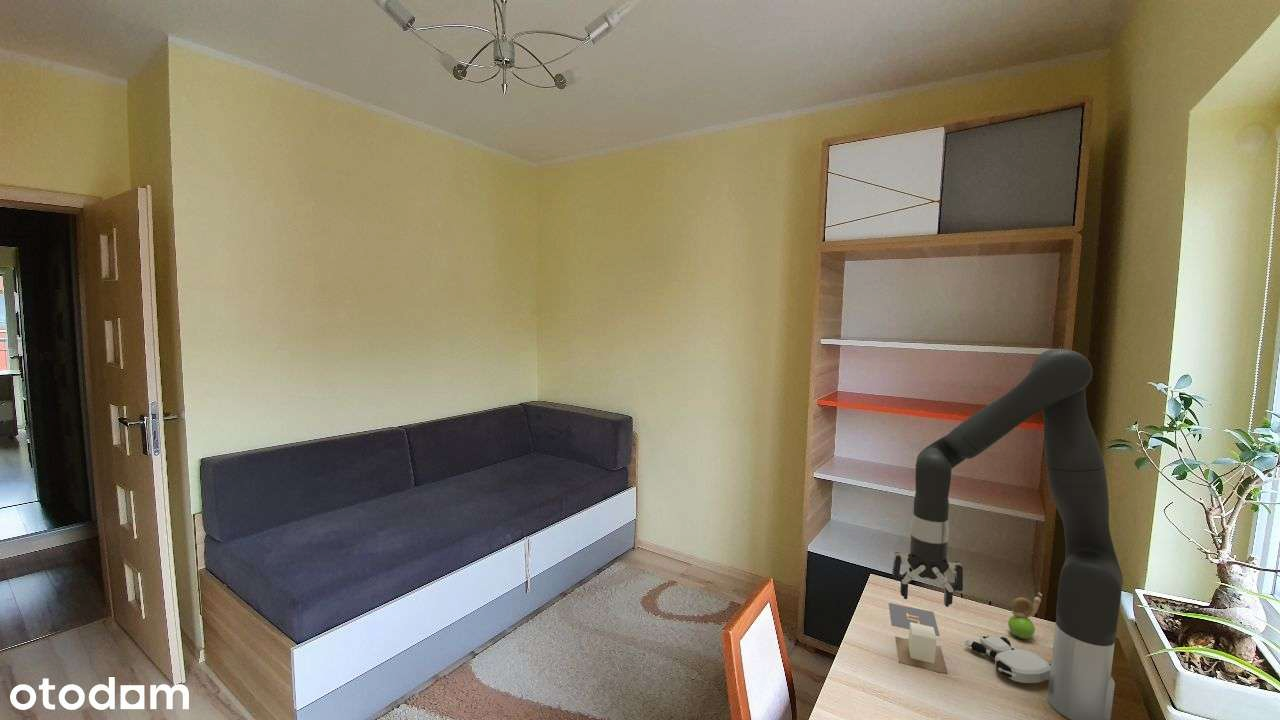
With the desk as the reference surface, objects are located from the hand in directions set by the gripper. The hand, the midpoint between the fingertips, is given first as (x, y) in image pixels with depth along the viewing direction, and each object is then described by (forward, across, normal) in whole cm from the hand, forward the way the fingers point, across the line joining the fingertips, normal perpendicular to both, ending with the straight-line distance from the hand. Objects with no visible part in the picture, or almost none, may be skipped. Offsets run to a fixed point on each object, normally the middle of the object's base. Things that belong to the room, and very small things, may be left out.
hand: (925, 601), depth 122 cm
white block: (+14, 0, 0) cm, 14 cm away
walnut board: (+14, 0, 0) cm, 14 cm away
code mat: (+14, 0, -15) cm, 21 cm away
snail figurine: (+14, -25, -18) cm, 34 cm away
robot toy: (+15, -18, -4) cm, 24 cm away
